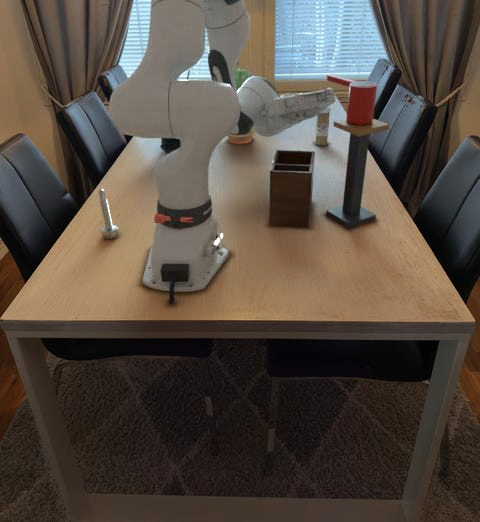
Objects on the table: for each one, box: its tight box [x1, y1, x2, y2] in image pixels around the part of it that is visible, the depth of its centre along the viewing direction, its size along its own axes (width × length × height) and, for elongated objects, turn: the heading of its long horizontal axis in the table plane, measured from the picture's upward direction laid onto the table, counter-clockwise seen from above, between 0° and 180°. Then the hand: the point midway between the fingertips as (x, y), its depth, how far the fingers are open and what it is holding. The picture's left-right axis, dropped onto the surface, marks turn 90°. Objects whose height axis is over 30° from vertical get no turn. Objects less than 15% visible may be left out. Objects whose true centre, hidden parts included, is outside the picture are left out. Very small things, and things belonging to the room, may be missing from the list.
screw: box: [98, 188, 120, 239], centre depth 115 cm, size 13×5×5 cm
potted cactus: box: [226, 67, 257, 145], centre depth 169 cm, size 15×15×25 cm
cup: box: [326, 73, 378, 126], centre depth 111 cm, size 15×6×9 cm, turn 30°
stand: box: [325, 118, 390, 230], centre depth 117 cm, size 9×9×25 cm
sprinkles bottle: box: [314, 105, 331, 146], centre depth 167 cm, size 5×5×14 cm
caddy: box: [269, 149, 316, 229], centre depth 122 cm, size 14×10×15 cm
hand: (316, 93), depth 121 cm, fingers open, 8 cm apart
